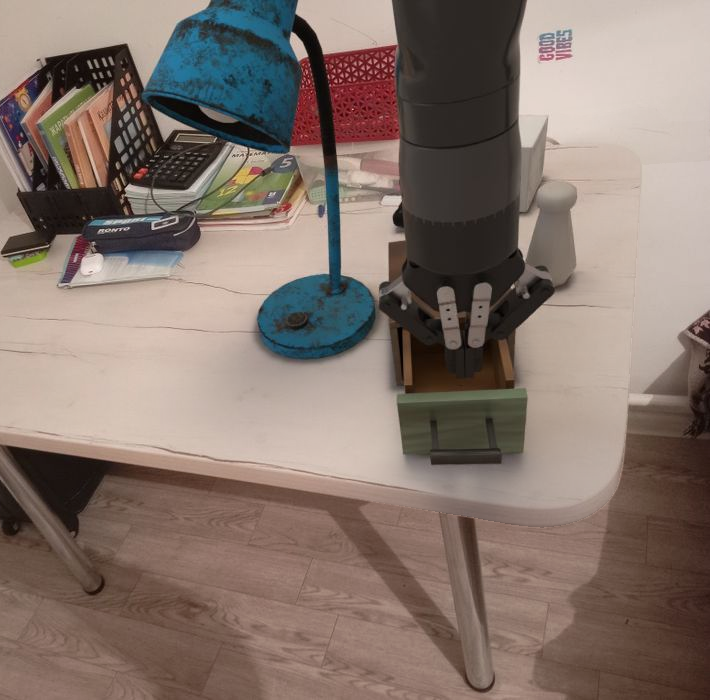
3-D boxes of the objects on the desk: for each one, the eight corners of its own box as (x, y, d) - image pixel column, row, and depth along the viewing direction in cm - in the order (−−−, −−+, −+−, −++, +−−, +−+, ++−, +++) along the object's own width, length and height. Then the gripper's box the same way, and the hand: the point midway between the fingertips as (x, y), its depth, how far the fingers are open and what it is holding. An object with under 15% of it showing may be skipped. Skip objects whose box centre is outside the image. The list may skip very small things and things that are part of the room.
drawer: (532, 494, 57) (537, 440, 52) (404, 494, 60) (397, 443, 55) (503, 351, 71) (505, 297, 66) (400, 357, 74) (395, 307, 69)
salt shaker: (578, 267, 79) (591, 175, 71) (569, 294, 76) (581, 201, 68) (529, 262, 82) (536, 173, 74) (518, 288, 79) (524, 198, 71)
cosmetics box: (528, 213, 91) (533, 146, 84) (483, 210, 94) (484, 145, 87) (544, 178, 97) (550, 112, 90) (501, 176, 100) (503, 113, 93)
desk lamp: (210, 354, 84) (73, -9, 56) (315, 268, 93) (243, -82, 65) (295, 401, 74) (181, -17, 45) (404, 300, 83) (366, -102, 54)
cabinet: (513, 379, 68) (516, 312, 62) (396, 385, 72) (388, 322, 66) (495, 293, 80) (496, 229, 73) (394, 302, 83) (388, 242, 77)
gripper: (357, 231, 40) (384, 408, 51) (582, 202, 37) (559, 400, 48) (360, 176, 46) (384, 347, 57) (556, 146, 42) (541, 336, 53)
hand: (464, 371), depth 52 cm, fingers closed
